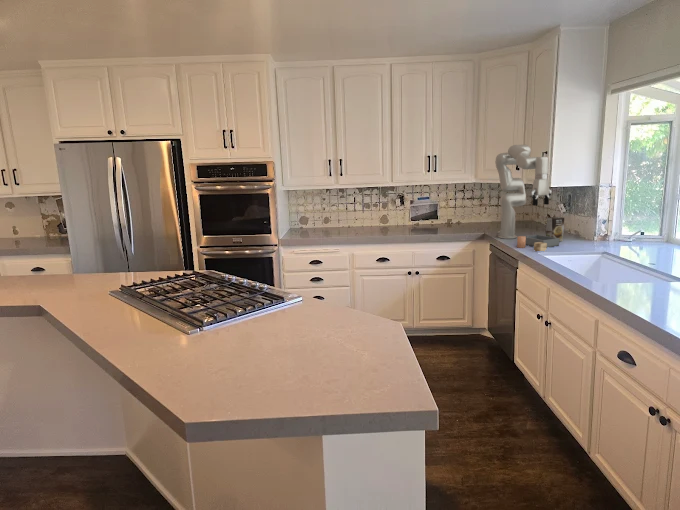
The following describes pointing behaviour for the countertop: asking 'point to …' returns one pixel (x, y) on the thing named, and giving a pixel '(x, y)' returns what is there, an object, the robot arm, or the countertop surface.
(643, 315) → the countertop surface
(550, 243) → the tote
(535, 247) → the maple cube
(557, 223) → the coffee box
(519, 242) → the terracotta cylinder
